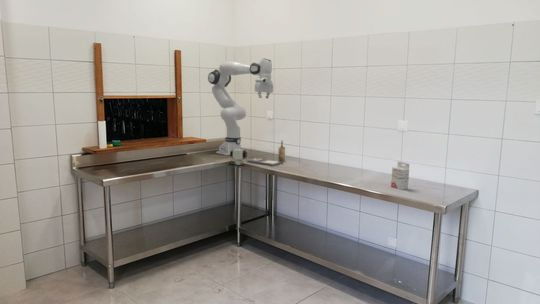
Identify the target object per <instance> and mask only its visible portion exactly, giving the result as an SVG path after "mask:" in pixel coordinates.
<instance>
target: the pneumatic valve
mask: <svg viewBox="0 0 540 304" xmlns="http://www.w3.org/2000/svg"><path fill="white" fill-rule="evenodd" d="M229 157H231V159H235V161H234V165H235V166H241V165H243V160H246V158H248V152H247V150H246V149H241V150H240V149H239V148H238V149H233V150H232V151H231V152H230V155H229Z"/></svg>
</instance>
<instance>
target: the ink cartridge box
mask: <svg viewBox="0 0 540 304" xmlns="http://www.w3.org/2000/svg"><path fill="white" fill-rule="evenodd" d="M409 178H410V164H409V163H406V162H402V161H397V166H392V168H391V184H390V187H391V188H394V189H399V190H400V191H401V190H408V188H409Z"/></svg>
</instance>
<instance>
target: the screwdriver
mask: <svg viewBox="0 0 540 304" xmlns="http://www.w3.org/2000/svg"><path fill="white" fill-rule="evenodd" d="M283 141H284V140H281V143H280V146H278V151H277V152H278V153H277V155H278V159H277V161H279V162H283V163H285V162H286V147H285V146H284V145H283Z"/></svg>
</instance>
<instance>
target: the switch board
mask: <svg viewBox="0 0 540 304" xmlns="http://www.w3.org/2000/svg"><path fill="white" fill-rule="evenodd" d="M246 162H247V163H251V164H255V165H256V164H257V165H264V166H268V167H270V166H271V167H275V166H280V165H283V164H284V162H279V161H278V160H272V159H266V158H265V159H264V158H256V157H255V158H252V159H247V160H246Z"/></svg>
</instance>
